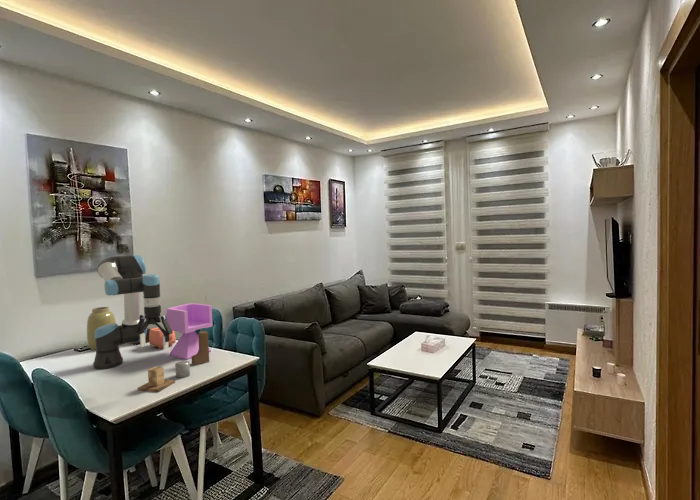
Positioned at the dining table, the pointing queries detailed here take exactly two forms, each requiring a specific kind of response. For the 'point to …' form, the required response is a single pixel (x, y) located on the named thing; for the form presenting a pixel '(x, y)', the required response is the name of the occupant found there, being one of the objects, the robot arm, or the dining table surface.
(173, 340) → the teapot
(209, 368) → the dining table surface
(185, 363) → the grey dome cap
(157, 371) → the oak block
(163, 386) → the walnut board
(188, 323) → the chair
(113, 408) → the dining table surface
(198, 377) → the dining table surface
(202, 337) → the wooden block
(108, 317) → the vase
